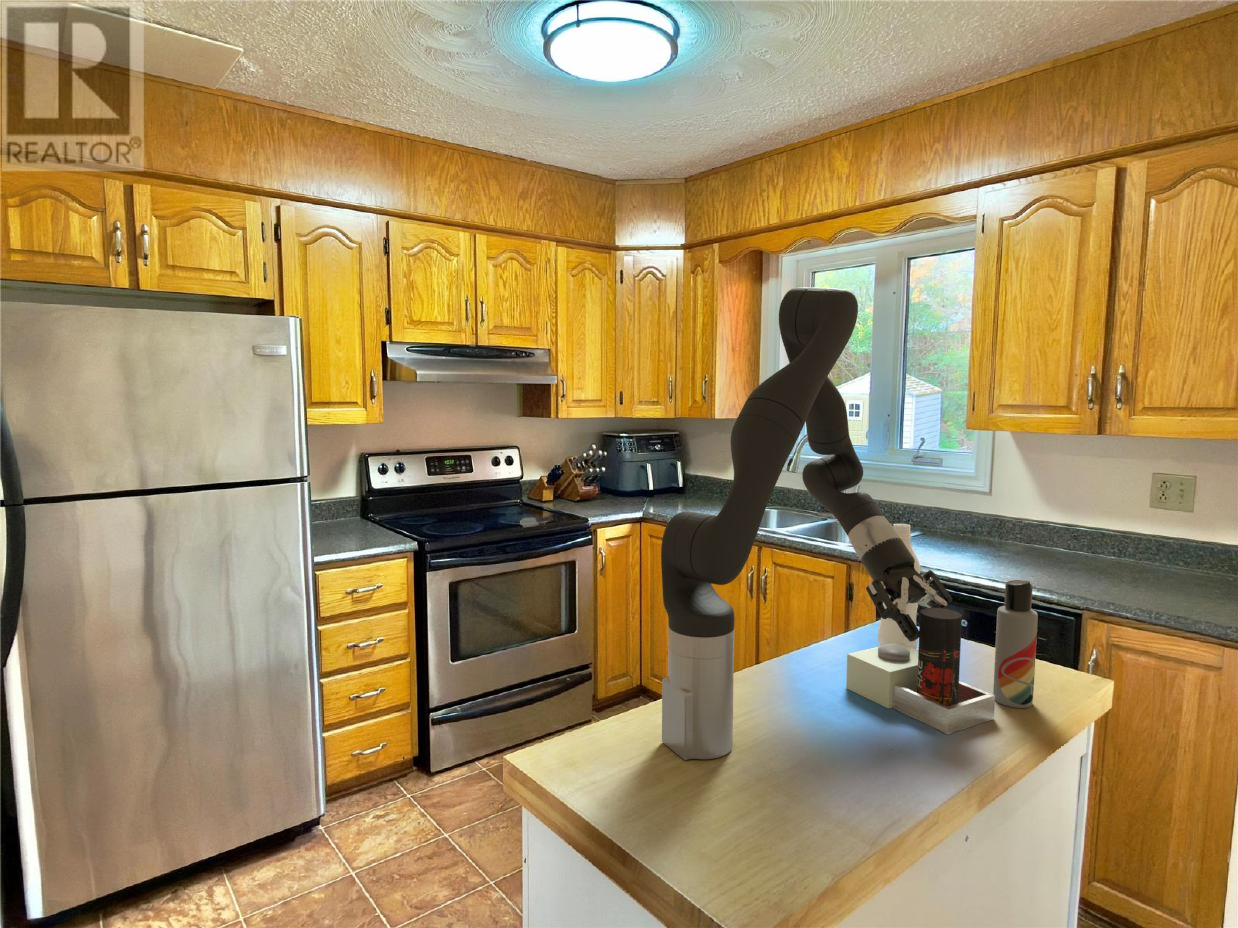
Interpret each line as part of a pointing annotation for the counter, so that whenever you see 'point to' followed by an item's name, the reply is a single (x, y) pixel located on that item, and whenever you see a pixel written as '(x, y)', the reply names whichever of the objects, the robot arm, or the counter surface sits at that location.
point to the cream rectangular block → (882, 671)
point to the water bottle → (890, 628)
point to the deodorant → (939, 655)
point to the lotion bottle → (1015, 647)
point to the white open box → (946, 708)
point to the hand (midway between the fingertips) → (934, 634)
